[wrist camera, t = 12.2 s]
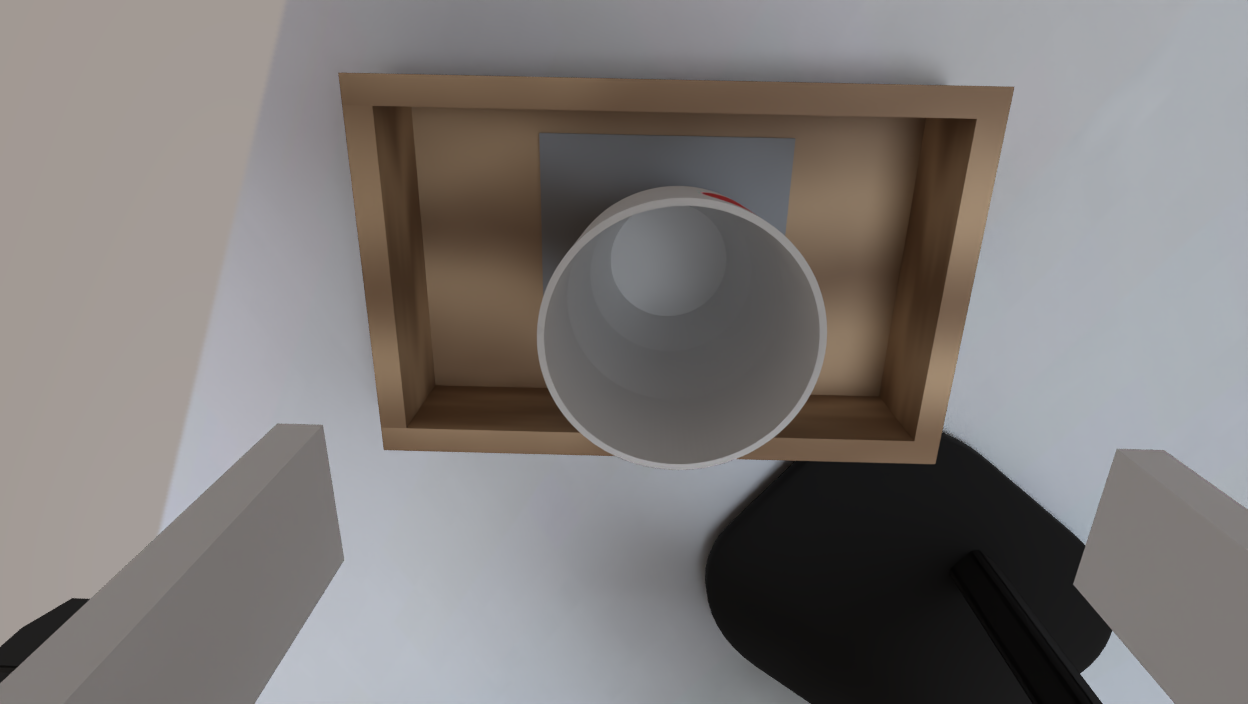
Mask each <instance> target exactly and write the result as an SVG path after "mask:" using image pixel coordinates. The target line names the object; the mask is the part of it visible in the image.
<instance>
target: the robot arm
mask: <svg viewBox="0 0 1248 704" xmlns="http://www.w3.org/2000/svg"><path fill="white" fill-rule="evenodd" d="M343 561H344V555H343V549H342V543H341V536H340V530H339V524H338V518H337V511H336V505H335V499H334V492H333V486H332V480H331V474H330V467H329V461H328V455H327V448H326V442H325V436H324V430H323V425H306V424H276V425H275V426H274V427H273V428H272V429H271V430H270V431H269V432H268V433H267V434H266V435H265V436H264V437H263V438H262V439H260V440H259V441H258V442H257V443H256V444H255V445H254V446H253V447H252V448H251V449H250V450H249V451H248V452H247V453H246V454H244V455H243V456H242V457H241V458H240V459H239V460H238V461H237V462H236V463H235V464H234V465H233V466H232V467H231V468H230V469H228V470H227V471H226V472H225V473H224V474H223V475H222V476H221V477H220V478H219V479H218V480H217V481H216V482H215V483H214V484H212V485H211V486H210V487H209V488H208V489H207V490H206V491H205V492H204V493H203V494H202V495H201V496H200V497H199V498H198V499H196V500H195V501H194V502H193V503H192V504H191V505H190V506H189V507H188V508H187V509H186V510H185V511H184V512H183V513H182V514H180V515H179V516H178V517H177V518H176V519H175V520H174V521H173V522H172V523H171V524H170V525H169V526H168V527H167V528H165V529H164V530H163V531H162V532H161V533H160V534H159V535H158V536H157V537H156V538H155V539H154V540H153V541H152V542H151V543H150V544H148V546H146V547H145V548H144V549H143V550H142V551H141V552H140V553H139V554H138V555H137V556H136V557H135V558H133V559H132V560H131V561H130V562H129V563H128V564H127V565H126V566H125V567H124V568H123V569H122V570H121V571H120V572H119V573H118V574H116V575H115V576H114V577H113V578H112V579H111V580H110V581H109V582H108V583H107V584H106V585H105V586H104V587H103V588H102V589H100V590H99V592H97V593H96V594H95V595H94V596H93V597H92V598H91V599H76V598H75V599H74V598H72V599H70V600H69V601H67V602H65V603H63V604H62V605H60V606H58V607H57V608H55V609H53V610H52V611H50V612H48V613H46V614H45V615H43V616H41V617H40V618H38V619H36V620H35V621H33V622H31V623H30V624H28V625H26V626H24V627H23V628H21V629H20V630H19V631H18V632H17V633H15V634H14V635H13V636H12V637H11V638H10V639H9V640H8V641H6V642H5V643H4V644H3V645H2V646H1V647H0V704H255V702H256V700H257V699H258V697H259V696H260V694H261V692H262V691H263V689H264V688H265V686H266V684H267V683H268V681H269V680H270V678H271V676H272V675H273V673H274V672H275V670H276V668H277V667H278V665H279V664H280V662H281V660H282V659H283V657H284V656H285V654H286V652H287V651H288V649H289V648H290V646H291V644H292V643H293V641H294V640H295V638H296V636H297V635H298V633H299V631H300V630H301V628H302V627H303V625H304V623H305V622H306V620H307V619H308V617H309V615H310V614H311V612H312V611H313V609H314V607H315V606H316V604H317V603H318V601H319V599H320V598H321V596H322V595H323V593H324V591H325V590H326V588H327V587H328V585H329V583H330V582H331V580H332V579H333V577H334V575H335V574H336V572H337V571H338V569H339V567H340V566H341V564H342V563H343ZM1073 585H1074V586H1075V587H1076V588H1077V589H1078V591H1079V592H1080V593H1081V594H1082V595H1083V596H1084V598H1085V599H1086V600H1087V601H1088V602H1089V603H1090V605H1091V606H1092V607H1093V608H1094V609H1095V611H1096V612H1097V613H1098V614H1099V615H1100V616H1101V618H1102V619H1103V620H1104V621H1105V622H1106V623H1107V625H1108V626H1109V627H1110V628H1111V629H1112V630H1113V632H1114V633H1115V634H1116V635H1117V636H1118V638H1119V639H1120V640H1121V641H1122V642H1123V643H1124V645H1125V646H1126V647H1127V648H1128V649H1129V650H1130V652H1131V653H1132V654H1133V655H1134V656H1135V657H1136V659H1137V660H1138V661H1139V662H1140V663H1141V664H1142V666H1143V667H1144V668H1145V669H1146V670H1147V672H1148V673H1149V674H1150V675H1151V676H1152V677H1153V679H1154V680H1155V681H1156V682H1157V683H1158V684H1159V686H1160V687H1161V688H1162V689H1163V690H1164V691H1165V693H1166V694H1167V695H1168V696H1169V697H1170V699H1171V700H1172V701H1173V702H1174V703H1175V704H1248V509H1246V508H1245V507H1243V506H1242V505H1241V504H1239V503H1238V502H1236V501H1235V500H1233V499H1232V498H1231V497H1229V496H1228V495H1226V494H1225V493H1224V492H1222V491H1221V490H1219V489H1218V488H1217V487H1215V486H1214V485H1212V484H1211V483H1210V482H1208V481H1207V480H1205V479H1204V478H1203V477H1201V476H1200V475H1198V474H1197V473H1195V472H1194V471H1193V470H1191V469H1190V468H1188V467H1187V466H1186V465H1184V464H1183V463H1181V462H1180V461H1179V460H1177V459H1176V458H1174V457H1173V456H1172V455H1170V454H1169V453H1167V452H1166V451H1165V450H1139V449H1117V450H1116V453H1115V456H1114V459H1113V462H1112V465H1111V468H1110V472H1109V475H1108V478H1107V481H1106V484H1105V487H1104V490H1103V493H1102V496H1101V499H1100V502H1099V506H1098V509H1097V512H1096V515H1095V518H1094V521H1093V524H1092V527H1091V530H1090V533H1089V537H1088V540H1087V543H1086V546H1085V549H1084V552H1083V555H1082V558H1081V561H1080V564H1079V568H1078V571H1077V574H1076V577H1075V580H1074V583H1073Z"/></svg>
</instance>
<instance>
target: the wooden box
mask: <svg viewBox="0 0 1248 704" xmlns="http://www.w3.org/2000/svg"><path fill="white" fill-rule="evenodd" d="M338 74H339V82H340V90H341V99H342V107H343V115H344V124H345V132H346V140H347V148H348V157H349V165H350V173H351V182H352V190H353V198H354V207H355V215H356V223H357V231H358V240H359V248H360V256H361V265H362V273H363V281H364V289H365V298H366V306H367V314H368V323H369V331H370V339H371V347H372V356H373V364H374V372H375V381H376V389H377V397H378V405H379V414H380V422H381V430H382V439H383V447H384V450H405V451H443V452H482V453H521V454H559V455H598V456H614V455H612V454H610V453H608V452H607V451H605V450H603V449H601V448H600V447H598V446H597V445H595V444H594V443H592V442H591V441H590V440H588V439H587V438H586V437H585V436H583V435H582V434H581V433H580V432H579V431H578V430H577V429H576V428H575V427H574V426H573V425H572V424H571V423H570V422H569V421H568V420H567V418H566V417H565V416H564V415H563V413H562V412H561V411H560V409H559V408H558V406H557V405H556V403H555V401H554V400H553V398H552V396H551V394H550V392H549V390H548V387H547V385H546V383H545V380H544V377H543V374H542V371H541V367H540V362H539V357H538V349H537V324H538V317H539V311H540V307H541V303H542V299H543V296H544V293H545V290H546V288H547V285H548V283H549V281H550V279H551V277H552V275H553V273H554V271H555V270H556V268H557V266H558V265H559V263H560V262H561V260H562V259H563V258H564V256H565V255H566V254H567V252H568V251H569V250H570V249H571V247H572V246H573V245H574V244H575V242H576V241H577V240H578V238H579V237H580V236H581V235H582V233H583V232H584V231H585V230H586V228H587V227H588V226H589V225H590V224H591V223H592V222H593V221H594V220H595V219H596V218H597V217H598V216H599V215H600V214H601V213H602V212H604V211H605V210H606V209H608V208H609V207H610V206H612V205H613V204H615V203H617V202H618V201H620V200H622V199H624V198H626V197H628V196H631V195H633V194H635V193H638V192H641V191H645V190H648V189H653V188H658V187H666V186H689V187H697V188H702V189H706V190H710V191H713V192H716V193H719V194H721V195H724V196H726V197H728V198H730V199H732V200H734V201H736V202H737V203H739V204H740V205H742V206H744V207H745V208H747V209H748V210H750V211H751V212H753V213H754V214H756V215H757V216H759V217H760V218H762V219H763V220H765V221H766V222H768V223H769V224H771V225H772V226H773V227H775V228H776V229H777V230H779V231H780V232H781V233H782V234H783V235H784V236H786V237H787V238H788V239H789V240H790V241H791V242H792V244H793V245H794V246H795V247H796V248H797V249H798V251H799V252H800V253H801V254H802V256H803V257H804V259H805V260H806V262H807V263H808V265H809V267H810V268H811V270H812V272H813V274H814V276H815V278H816V280H817V283H818V285H819V288H820V291H821V294H822V297H823V301H824V306H825V311H826V319H827V343H826V351H825V356H824V361H823V365H822V368H821V371H820V374H819V377H818V380H817V382H816V384H815V387H814V389H813V391H812V393H811V394H810V396H809V398H808V400H807V401H806V403H805V404H804V406H803V407H802V409H801V410H800V411H799V413H798V414H797V415H796V416H795V417H794V419H793V420H792V421H791V422H790V423H789V424H788V425H787V426H786V427H785V428H784V429H783V430H782V431H781V432H780V433H778V434H777V435H776V436H775V437H774V438H772V439H771V440H770V441H768V442H767V443H765V444H764V445H762V446H761V447H759V448H757V449H756V450H754V451H752V452H750V453H748V454H746V455H744V456H742V457H740V458H737V459H753V460H792V461H830V462H869V463H908V464H935V463H936V459H937V454H938V449H939V444H940V439H941V435H942V430H943V425H944V420H945V416H946V411H947V406H948V401H949V396H950V392H951V387H952V382H953V377H954V373H955V368H956V363H957V358H958V354H959V349H960V344H961V339H962V334H963V330H964V325H965V320H966V315H967V311H968V306H969V301H970V296H971V291H972V287H973V282H974V277H975V272H976V268H977V263H978V258H979V253H980V249H981V244H982V239H983V234H984V229H985V225H986V220H987V215H988V210H989V206H990V201H991V196H992V191H993V186H994V182H995V177H996V172H997V167H998V163H999V158H1000V153H1001V148H1002V144H1003V139H1004V134H1005V129H1006V124H1007V120H1008V115H1009V110H1010V105H1011V101H1012V96H1013V91H1014V87H996V86H948V85H901V84H853V83H806V82H758V81H710V80H663V79H615V78H568V77H520V76H472V75H425V74H377V73H338Z"/></svg>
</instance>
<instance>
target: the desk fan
mask: <svg viewBox="0 0 1248 704" xmlns="http://www.w3.org/2000/svg"><path fill="white" fill-rule="evenodd" d="M1084 549H1085V545H1084V544H1083V543H1082V542H1081V541H1080V540H1079V539H1078V538H1077V537H1076V536H1075V535H1074V534H1073V533H1072V532H1071V531H1070V530H1068V529H1067V528H1066V527H1065V526H1064V525H1063V524H1061V523H1060V522H1059V521H1058V520H1057V519H1056V518H1054V517H1053V516H1052V515H1051V514H1050V513H1048V512H1047V511H1046V510H1045V509H1044V508H1043V507H1041V506H1040V505H1039V504H1038V503H1037V502H1036V501H1034V500H1033V499H1032V498H1031V497H1030V496H1029V495H1027V494H1026V493H1025V492H1024V491H1023V490H1022V489H1020V488H1019V487H1018V486H1017V485H1016V484H1015V483H1013V482H1012V481H1011V480H1010V479H1009V478H1007V477H1006V476H1005V475H1004V474H1003V473H1002V472H1000V471H999V470H998V469H997V468H996V467H995V466H993V465H992V464H991V463H990V462H989V461H988V460H986V459H985V458H984V457H983V456H981V455H980V454H979V453H977V452H976V451H975V450H973V449H972V448H971V447H969V446H967V445H966V444H964V443H962V442H961V441H959V440H957V439H955V438H953V437H951V436H948V435H946V434H944V433H942V435H941V439H940V444H939V449H938V454H937V459H936V463H935V464H908V463H869V462H830V461H795V462H794V463H793V464H792V465H791V466H790V467H789V468H788V469H787V470H786V471H785V472H784V473H783V474H782V475H781V476H780V477H779V478H778V479H776V480H775V481H774V482H773V483H772V484H771V485H770V486H769V487H768V488H767V489H766V490H765V491H764V492H763V493H762V494H761V495H760V496H759V497H758V498H756V499H755V500H754V501H753V502H752V503H751V504H750V505H749V506H748V507H747V508H746V509H745V510H744V511H743V512H742V513H741V514H740V515H739V516H738V517H736V518H735V519H734V520H733V521H732V522H731V523H730V524H729V525H728V526H727V527H726V528H725V529H724V531H723V532H722V533H721V534H720V535H719V537H718V538H717V540H716V541H715V543H714V545H713V546H712V549H711V551H710V554H709V556H708V560H707V565H706V576H705V581H706V589H707V596H708V603H709V606H710V609H711V613H712V615H713V617H714V619H715V622H716V624H717V626H718V627H719V629H720V630H721V632H722V634H723V635H724V637H725V638H726V639H727V640H728V641H729V643H730V644H731V645H732V646H733V647H734V648H735V649H736V650H737V651H738V652H739V653H740V654H741V655H742V656H743V657H744V658H746V659H747V660H748V661H750V662H751V663H752V664H754V665H755V666H756V667H758V668H759V669H761V670H762V671H764V672H765V673H767V674H768V675H769V676H771V677H772V678H774V679H775V680H777V681H778V682H780V683H781V684H783V685H784V686H786V687H787V688H789V689H790V690H792V691H793V692H794V693H796V694H797V695H799V696H800V697H802V698H803V699H805V700H806V701H808V702H809V703H811V704H1102V702H1101V701H1100V700H1099V698H1098V697H1097V696H1096V694H1095V693H1094V692H1093V690H1092V689H1091V688H1090V686H1089V685H1088V684H1087V683H1086V681H1085V680H1084V679H1083V677H1082V676H1081V675H1080V673H1081V672H1083V671H1084V670H1085V669H1086V668H1088V667H1089V666H1090V665H1091V664H1092V663H1093V662H1094V661H1095V660H1096V658H1097V657H1098V656H1099V655H1100V653H1101V652H1102V650H1103V649H1104V647H1105V646H1106V644H1107V642H1108V640H1109V638H1110V635H1111V632H1112V629H1111V628H1110V627H1109V626H1108V625H1107V623H1106V622H1105V621H1104V620H1103V619H1102V618H1101V616H1100V615H1099V614H1098V613H1097V612H1096V611H1095V609H1094V608H1093V607H1092V606H1091V605H1090V603H1089V602H1088V601H1087V600H1086V599H1085V598H1084V596H1083V595H1082V594H1081V593H1080V592H1079V591H1078V589H1077V588H1076V587H1075V586H1074V585H1073V583H1074V580H1075V577H1076V574H1077V571H1078V568H1079V564H1080V561H1081V558H1082V555H1083V552H1084Z"/></svg>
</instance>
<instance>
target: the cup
mask: <svg viewBox="0 0 1248 704" xmlns="http://www.w3.org/2000/svg"><path fill="white" fill-rule="evenodd" d="M826 343H827V319H826V311H825V306H824V301H823V297H822V294H821V291H820V288H819V285H818V283H817V280H816V278H815V276H814V274H813V272H812V270H811V268H810V267H809V265H808V263H807V262H806V260H805V259H804V257H803V256H802V254H801V253H800V252H799V251H798V249H797V248H796V247H795V246H794V245H793V244H792V242H791V241H790V240H789V239H788V238H787V237H786V236H784V235H783V234H782V233H781V232H780V231H779V230H777V229H776V228H775V227H773V226H772V225H771V224H769V223H768V222H766V221H765V220H763V219H762V218H760V217H759V216H757V215H756V214H754V213H753V212H751V211H750V210H748V209H747V208H745V207H744V206H742V205H740V204H739V203H737V202H736V201H734V200H732V199H730V198H728V197H726V196H724V195H721V194H719V193H716V192H713V191H710V190H706V189H702V188H697V187H689V186H666V187H658V188H653V189H648V190H645V191H641V192H638V193H635V194H633V195H631V196H628V197H626V198H624V199H622V200H620V201H618V202H617V203H615V204H613V205H612V206H610V207H609V208H608V209H606V210H605V211H604V212H602V213H601V214H600V215H599V216H598V217H597V218H596V219H595V220H594V221H593V222H592V223H591V224H590V225H589V226H588V227H587V228H586V230H585V231H584V232H583V233H582V235H581V236H580V237H579V238H578V240H577V241H576V242H575V244H574V245H573V246H572V247H571V249H570V250H569V251H568V252H567V254H566V255H565V256H564V258H563V259H562V260H561V262H560V263H559V265H558V266H557V268H556V270H555V271H554V273H553V275H552V277H551V279H550V281H549V283H548V285H547V288H546V290H545V293H544V296H543V299H542V303H541V307H540V311H539V317H538V324H537V349H538V357H539V362H540V367H541V371H542V374H543V377H544V380H545V383H546V385H547V387H548V390H549V392H550V394H551V396H552V398H553V400H554V401H555V403H556V405H557V406H558V408H559V409H560V411H561V412H562V413H563V415H564V416H565V417H566V418H567V420H568V421H569V422H570V423H571V424H572V425H573V426H574V427H575V428H576V429H577V430H578V431H579V432H580V433H581V434H582V435H583V436H585V437H586V438H587V439H588V440H590V441H591V442H592V443H594V444H595V445H597V446H598V447H600V448H601V449H603V450H605V451H607V452H608V453H610V454H612V455H614V456H617V457H619V458H621V459H624V460H626V461H629V462H632V463H635V464H639V465H643V466H647V467H652V468H659V469H669V470H689V469H699V468H706V467H711V466H715V465H719V464H723V463H726V462H729V461H732V460H735V459H737V458H740V457H742V456H744V455H746V454H748V453H750V452H752V451H754V450H756V449H757V448H759V447H761V446H762V445H764V444H765V443H767V442H768V441H770V440H771V439H772V438H774V437H775V436H776V435H777V434H778V433H780V432H781V431H782V430H783V429H784V428H785V427H786V426H787V425H788V424H789V423H790V422H791V421H792V420H793V419H794V417H795V416H796V415H797V414H798V413H799V411H800V410H801V409H802V407H803V406H804V404H805V403H806V401H807V400H808V398H809V396H810V394H811V393H812V391H813V389H814V387H815V384H816V382H817V380H818V377H819V374H820V371H821V368H822V365H823V361H824V356H825V351H826Z"/></svg>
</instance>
